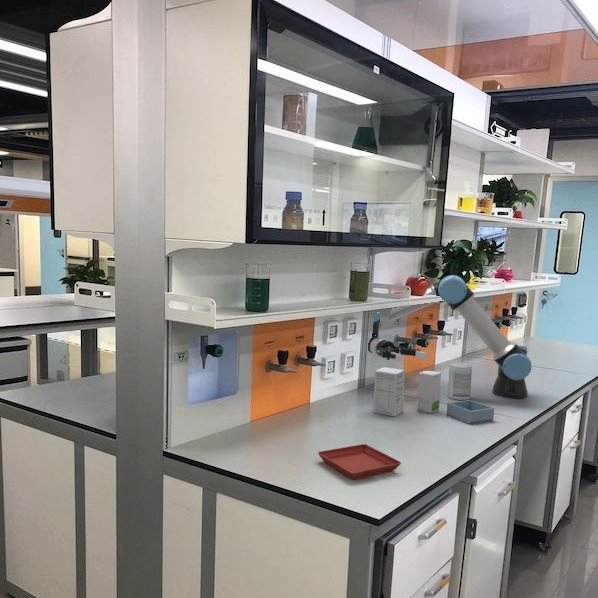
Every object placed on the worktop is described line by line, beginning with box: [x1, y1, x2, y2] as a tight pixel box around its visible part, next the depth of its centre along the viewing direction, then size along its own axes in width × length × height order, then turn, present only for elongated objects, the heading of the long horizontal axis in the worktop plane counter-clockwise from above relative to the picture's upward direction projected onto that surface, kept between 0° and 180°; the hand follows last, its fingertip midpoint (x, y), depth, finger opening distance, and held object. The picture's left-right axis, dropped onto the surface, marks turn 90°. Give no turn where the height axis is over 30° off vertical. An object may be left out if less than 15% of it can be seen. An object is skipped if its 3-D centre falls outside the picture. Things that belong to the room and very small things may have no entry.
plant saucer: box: [317, 443, 402, 480], centre depth 171 cm, size 18×18×3 cm
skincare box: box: [416, 370, 442, 414], centre depth 233 cm, size 8×7×16 cm
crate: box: [446, 399, 495, 425], centre depth 225 cm, size 12×12×5 cm
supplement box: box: [372, 366, 406, 417], centre depth 228 cm, size 10×9×17 cm
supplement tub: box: [447, 362, 473, 401], centre depth 255 cm, size 10×10×15 cm
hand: (414, 357), depth 240 cm, fingers open, 13 cm apart
